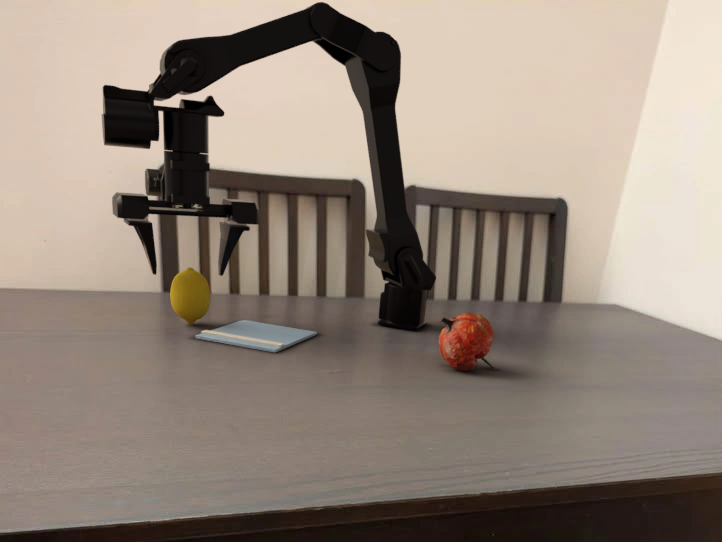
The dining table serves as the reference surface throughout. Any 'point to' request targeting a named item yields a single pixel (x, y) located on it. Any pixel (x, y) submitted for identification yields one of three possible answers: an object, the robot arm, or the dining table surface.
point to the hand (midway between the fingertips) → (188, 274)
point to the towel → (256, 335)
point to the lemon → (190, 295)
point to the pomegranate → (465, 340)
